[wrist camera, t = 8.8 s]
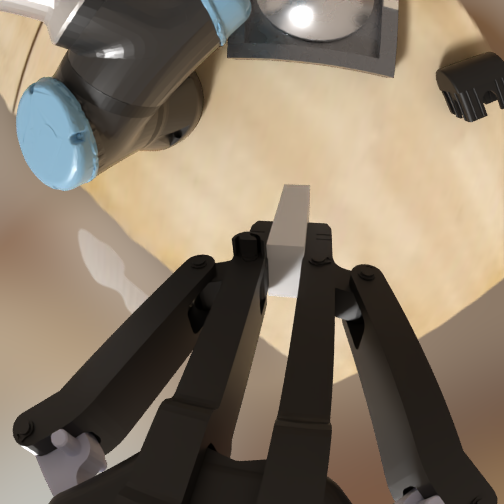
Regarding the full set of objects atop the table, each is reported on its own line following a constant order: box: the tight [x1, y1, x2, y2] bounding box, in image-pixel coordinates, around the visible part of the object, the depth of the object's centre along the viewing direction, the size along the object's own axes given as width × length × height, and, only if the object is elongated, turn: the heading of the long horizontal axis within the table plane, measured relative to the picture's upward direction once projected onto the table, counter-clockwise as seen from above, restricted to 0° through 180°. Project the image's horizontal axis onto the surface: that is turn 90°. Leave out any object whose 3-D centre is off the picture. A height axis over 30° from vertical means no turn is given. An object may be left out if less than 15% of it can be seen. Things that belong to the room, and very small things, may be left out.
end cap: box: [436, 52, 504, 122], centre depth 24 cm, size 10×7×7 cm
